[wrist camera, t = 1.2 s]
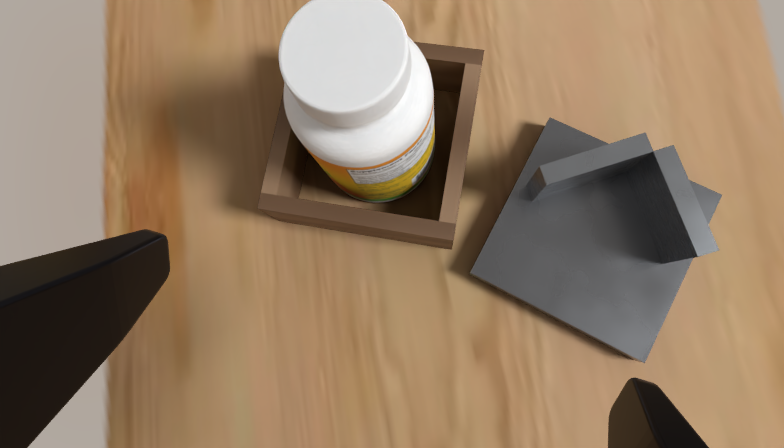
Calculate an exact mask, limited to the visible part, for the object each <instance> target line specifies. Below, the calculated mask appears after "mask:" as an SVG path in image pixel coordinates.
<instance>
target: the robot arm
mask: <svg viewBox="0 0 784 448" xmlns="http://www.w3.org/2000/svg"><path fill="white" fill-rule="evenodd" d="M169 272H170V261H169V248H168V240H167V238H166V236H165V235H163V234H161V233H158V232H155V231H151V230H147V229H144V230H140V231H136V232H132V233H128V234H124V235H120V236H116V237H112V238H108V239H105V240H101V241H97V242H93V243H89V244H85V245H81V246H77V247H73V248H69V249H66V250H62V251H57V252H54V253H50V254H46V255H42V256H38V257H34V258H31V259H26V260H22V261H18V262H14V263H10V264H7V265H3V266H0V448H27V447H28V446H29V445H30V444H31V443H32V442H33V441H34V440H35V438H36V437H37V436H38V435H39V434H40V433H41V432H42V431H43V429H44V428H45V427H46V426H47V425H48V424H49V423H50V422H51V420H52V419H53V418H54V417H55V416H56V415H57V414H58V412H59V411H60V410H61V409H62V408H63V407H64V406H65V405H66V403H67V402H68V401H69V400H70V399H71V398H72V397H73V396H74V394H75V393H76V392H77V391H78V390H79V389H80V388H81V387H82V385H83V384H84V383H85V382H86V381H87V380H88V379H89V377H90V376H91V375H92V374H93V373H94V372H95V371H96V370H97V369H98V367H99V366H100V365H101V364H102V363H103V362H104V361H105V360H106V358H107V357H108V356H109V355H110V354H111V353H112V352H113V351H114V349H115V348H116V347H117V346H118V345H119V344H120V342H121V341H122V340H123V339H124V337H125V336H126V335H127V334H128V332H129V331H130V330H131V328H132V327H133V325H134V324H135V323H136V321H137V320H138V318H139V317H140V316H141V314H142V313H143V312H144V310H145V309H146V307H147V306H148V305H149V303H150V302H151V300H152V299H153V298H154V296H155V295H156V293H157V292H158V291H159V289H160V288H161V287H162V285H163V284H164V282H165V281H166V279H167V277H168V275H169ZM608 448H709V447H708V446H707V445H706V444H705V442H704V441H703V440H702V439H701V437H700V436H699V435H698V434H697V433H696V431H695V430H694V429H693V428H692V426H691V425H690V424H689V423H688V422H687V420H686V419H685V418H684V417H683V416H682V414H681V413H680V412H679V411H678V409H677V408H676V407H675V406H674V405H673V403H672V402H671V401H670V400H669V398H668V397H667V396H666V395H665V394H664V392H663V391H662V390H661V389H660V388H659V387H658V386H657V385H656V384H654V383H651V382H648V381H645V380H642V379H638V378H631V379H629V380H628V381H627V383H626V384H625V386H624V388H623V389H622V391H621V393H620V394H619V396H618V398H617V399H616V401H615V403H614V404H613V406H612V408H611V411H610V415H609V426H608Z"/></svg>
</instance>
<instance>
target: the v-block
mask: <svg viewBox="0 0 784 448" xmlns="http://www.w3.org/2000/svg"><path fill="white" fill-rule="evenodd" d="M721 196H722V195H721V194H719V193H717V192H715V191H712V190H710V189H708V188H706V187H703V186H701V185H699V184H697V183H695V182H692V181H690V180H689V179H688V177H687V175H686V172H685V170H684V168H683V165H682V163H681V161H680V158H679V156H678V154H677V152H676V149H675V147H674V145H672V146H669V147H666V148H663V149H659V150H656V151H653V149H652V147H651V145H650V142H649V140H648V137H647V135H646V133H642V134H639V135H636V136H633V137H630V138H627V139H623V140H620V141H617V142H614V143H611V144H608V143H606V142H603V141H601V140H599V139H597V138H595V137H592V136H590V135H588V134H586V133H583V132H581V131H579V130H577V129H575V128H572V127H570V126H568V125H566V124H563V123H561V122H559V121H557V120H555V119H552V118H549V120H548V121H547V123H546V125H545V127H544V129H543V131H542V133H541V135H540V137H539V139H538V140H537V142H536V144H535V146H534V148H533V150H532V152H531V154H530V156H529V158H528V160H527V162H526V164H525V166H524V168H523V170H522V172H521V174H520V176H519V178H518V179H517V181H516V183H515V185H514V187H513V189H512V191H511V193H510V195H509V197H508V199H507V201H506V203H505V205H504V207H503V209H502V211H501V213H500V215H499V217H498V218H497V220H496V222H495V224H494V226H493V228H492V230H491V232H490V234H489V236H488V238H487V240H486V242H485V244H484V246H483V248H482V250H481V252H480V254H479V256H478V258H477V259H476V261H475V263H474V265H473V267H472V269H471V271H470V273H469V274H470V275H471V276H473V277H475V278H477V279H479V280H481V281H483V282H485V283H487V284H489V285H491V286H493V287H495V288H497V289H498V290H500V291H502V292H504V293H506V294H508V295H510V296H512V297H514V298H516V299H518V300H520V301H522V302H524V303H525V304H527V305H529V306H531V307H533V308H535V309H537V310H539V311H541V312H543V313H545V314H547V315H549V316H550V317H552V318H554V319H556V320H558V321H560V322H562V323H564V324H566V325H568V326H570V327H572V328H574V329H576V330H577V331H579V332H581V333H583V334H585V335H587V336H589V337H591V338H593V339H595V340H597V341H599V342H601V343H603V344H604V345H606V346H608V347H610V348H612V349H614V350H616V351H618V352H620V353H622V354H624V355H626V356H628V357H629V358H631V359H633V360H635V361H639V362H643V363H645V361H646V359H647V357H648V355H649V353H650V350H651V348H652V346H653V344H654V342H655V340H656V337H657V335H658V333H659V331H660V329H661V327H662V324H663V322H664V320H665V318H666V316H667V313H668V311H669V309H670V307H671V305H672V303H673V300H674V298H675V296H676V294H677V292H678V290H679V287H680V285H681V283H682V281H683V279H684V277H685V274H686V272H687V270H688V268H689V266H690V264H691V261H692V259H693V258H694V257H699V256H702V255H705V254H708V253H712V252H715V251H718V250H719V248H718V246H717V244H716V241H715V239H714V237H713V235H712V232H711V230H710V228H709V225H708V224H709V222H710V220H711V218H712V216H713V214H714V211H715V209H716V207H717V205H718V203H719V201H720V198H721Z"/></svg>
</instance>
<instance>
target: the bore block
mask: <svg viewBox="0 0 784 448" xmlns="http://www.w3.org/2000/svg"><path fill="white" fill-rule="evenodd" d="M414 43H415V44H416V45H417V46H418V48H419V49H420V51H421V52H422V54H423V55H424V57H425V59H426V61H427V63H428V66H429V69H430V73H431V77H432V83H433V89H436V90H444V91H451V92H459V93H460V99H459V105H458V111H457V117H456V123H455V129H454V135H453V141H452V147H451V153H450V159H449V165H448V171H447V177H446V183H445V189H444V195H443V201H442V207H441V213H440V219H439V221H435V220H429V219H423V218H417V217H410V216H404V215H398V214H392V213H385V212H379V211H373V210H367V209H360V208H354V207H348V206H342V205H335V204H329V203H323V202H317V201H310V200H304V199H298V198H299V193H300V188H301V184H302V179H303V174H304V169H305V165H306V160H307V155H308V150H307V149H306V148H305V147H304V145H303V144H302V143H301V142H300V140H299V139H298V137H297V136H296V134H295V133H294V131H293V130H292V128H291V126H290V123H289V121H288V119H287V115H286V111H285V107H284V91H283V96H282V100H281V105H280V109H279V114H278V118H277V123H276V127H275V131H274V136H273V140H272V145H271V149H270V154H269V158H268V163H267V167H266V171H265V176H264V180H263V185H262V189H261V194H260V198H259V203H258V207H257V209H259V210H261V211H263V212H265V213H266V214H268V215H270V216H272V217H273V218H275V219H277V220H279V221H284V222H290V223H296V224H302V225H308V226H314V227H320V228H326V229H332V230H338V231H344V232H350V233H356V234H362V235H368V236H374V237H380V238H386V239H392V240H398V241H404V242H410V243H416V244H422V245H428V246H434V247H440V248H446V249H452V245H453V240H454V234H455V227H456V221H457V215H458V209H459V203H460V197H461V190H462V184H463V178H464V172H465V166H466V159H467V153H468V147H469V141H470V135H471V129H472V122H473V116H474V110H475V104H476V98H477V91H478V85H479V79H480V73H481V67H482V61H483V54H484V50H479V49H470V48H462V47H453V46H445V45H436V44H427V43H419V42H414Z"/></svg>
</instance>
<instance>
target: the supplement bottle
mask: <svg viewBox="0 0 784 448" xmlns="http://www.w3.org/2000/svg"><path fill="white" fill-rule="evenodd" d="M279 66H280V71H281V74H282V77H283V80H284V82H285V83H284V107H285V111H286V115H287V119H288V121H289V123H290V126H291V128H292V130H293V131H294V133H295V134H296V136H297V137H298V139H299V140H300V142H301V143H302V144H303V145H304V147H305V148H306V149H307V150H308V152H309V153H310V154H311V155H312V156H313V158H314V159H315V160H316V161H317V162H318V164H319V165H320V166H321V167H322V169H323V170H324V171H325V172H326V173H327V175H328V176H329V177H330V178H331V179H332V180H333V182H334V183H335V184H336V185H337V186H338V187H339V188H340V189H341V190H343V191H344V192H345V193H347V194H348V195H350V196H352V197H354V198H356V199H359V200H362V201H366V202H374V203H378V202H388V201H393V200H396V199H399V198H401V197H403V196H405V195H407V194H409V193H410V192H411V191H413V190H414V189H415V188H416V187H417V186H418V185H419V184H420V183H421V182H422V181H423V180H424V178H425V177H426V175H427V174H428V172H429V170H430V167H431V165H432V162H433V158H434V151H435V125H434V91H433V83H432V77H431V73H430V69H429V66H428V63H427V61H426V59H425V57H424V55H423V54H422V52H421V51H420V49H419V48H418V46H417V45H416V44H415V43H414V42H413V41H412V40H411V39H410V38H409V37H408V36H407V33H406V30H405V27H404V25H403V23H402V21H401V19H400V18H399V16H398V15H397V13H396V12H395V11H394V10H393V9H392V8H391V7H390V6H389V5H388V4H387V3H385V2H384V1H382V0H311V1H309V2H308V3H307V4H305V5H304V6H303V7H302V8H300V9H299V10H298V11H297V12H296V13H295V15H294V16H293V17H292V18H291V20H290V21H289V23H288V24H287V26H286V28H285V30H284V32H283V35H282V38H281V41H280V45H279Z"/></svg>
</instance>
